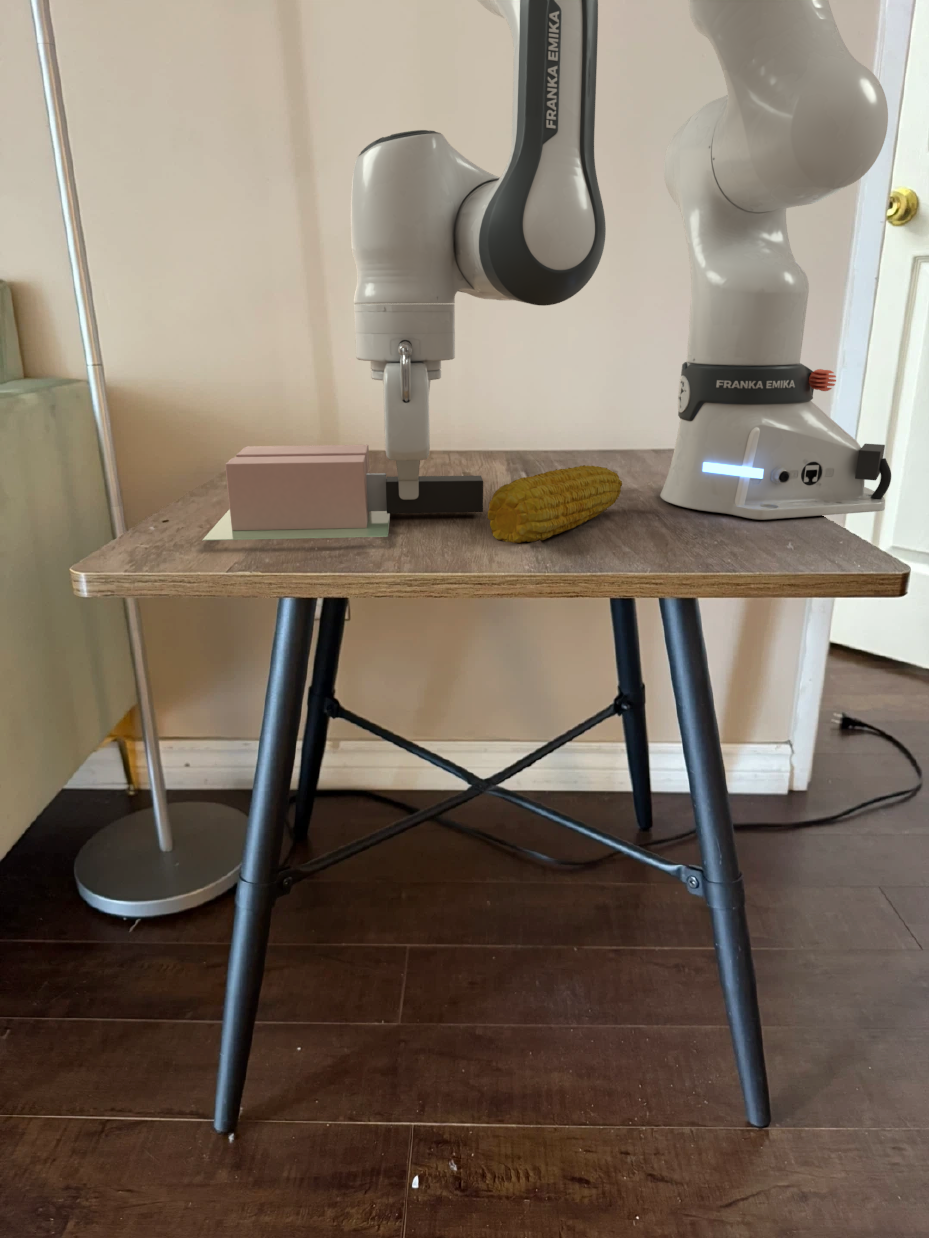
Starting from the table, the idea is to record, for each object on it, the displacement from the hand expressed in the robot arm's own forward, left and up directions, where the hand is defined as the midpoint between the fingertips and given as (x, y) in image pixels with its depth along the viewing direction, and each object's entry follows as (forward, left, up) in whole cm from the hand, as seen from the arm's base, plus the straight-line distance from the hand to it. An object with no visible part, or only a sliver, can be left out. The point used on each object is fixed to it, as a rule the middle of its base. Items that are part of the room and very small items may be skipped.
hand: (408, 493), depth 81 cm
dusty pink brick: (+10, +2, -2) cm, 10 cm away
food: (-14, +2, -3) cm, 15 cm away
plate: (+10, -1, -3) cm, 10 cm away
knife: (+5, 0, -2) cm, 5 cm away
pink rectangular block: (+10, -3, -2) cm, 11 cm away
